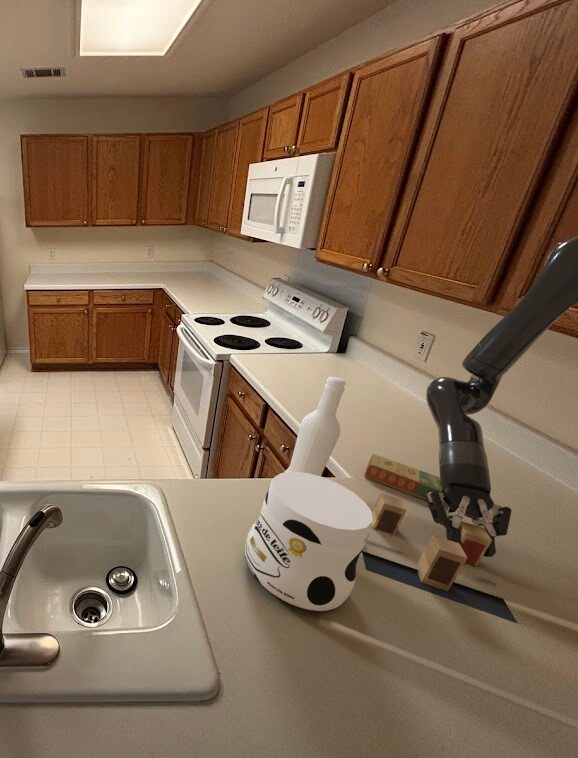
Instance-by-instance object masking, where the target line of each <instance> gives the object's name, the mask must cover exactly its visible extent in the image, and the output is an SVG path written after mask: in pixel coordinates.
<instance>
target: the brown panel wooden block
mask: <svg viewBox="0 0 578 758" xmlns="http://www.w3.org/2000/svg"><path fill="white" fill-rule="evenodd" d="M466 560H467V556H466V555H465V553H464V551H463V549H462V547H461V546H460V544H459V543H456V542H453V541H450V540H447V538H443V537H441V536H436V535H433V534H432V535H431V537H430V539H429V541H428V543H427V545H426V547H425V548H424V550H423V552H422V554H421V556H420V558H419V559H418V562H417V564H416V566H417V568H418V569H417V568H415V569H416V570H417V572H418V575H419V578H420V580H421V582H422V583H425V584H428V585H431V586H434V587H436V588H439V589H442V590H445V591H449V589H450V587H451V585H452V584H453V582H455V580H456V578H457V577H458V575H459V573H460V572H461V570H462V568H463V566H464V565H465V564H466V563H465V561H466Z"/></svg>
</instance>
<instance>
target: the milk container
mask: <svg viewBox="0 0 578 758" xmlns="http://www.w3.org/2000/svg"><path fill="white" fill-rule="evenodd" d="M284 472H285V471H284ZM284 472H281V473H280V472H279V474H277V475H275V476H274V477H273V478H272V479H271V482H270V483H269V486H268V489H267V492H266V494H265V497H264V499H263V502H262V506H261V509H260V514H259V516H258V517H257V519H256V520H255V522H254V523H253V525H252V526H251V528H250V529H249V531H248V532H247V535H246V539H245V545H244V557H245V562H246V565H247V568H248V569H249V571H250V573H251V574H252V576H253V578H254V579H255V580H256V581H257V582H258V584H260V585H261V587H263V588H264V589H265V590H266V591H267V592H268V593H270V594H271V595H273V596H274V597H275V598H277V599H279V600H281V601H282V602H284V603H286V604H288V605H291V606H293V607H296V608H299V609H302V610H304V611H310V612H311V611H312V612H327V611H329V610H330V611H331V610H333V609H336V608H339V607H340V606H341V605H342V604H343V603H344V602H346V600H347V599H348V598H349V596H350V595H351V593H352V591H353V589H354V586H355V583H356V578H357V577H356V576H357V563H358V560H359V558H360V556H361V554H362V551H364V548H365V546H366V544H367V540H368V538H369V536H370V535H371V531H372V528H373V526H372V523H373V518H372V510H371V508H370V507H369V505H368V504H367V502H366V501H364V500H363V499H362V498H361V497H360V496H359V495H358V494H356V493H355V492H353V491H352V490H351V489H348V488H347V487H345V486H343V485H342V484H340V483H338V482H335V481H333V480H332V479H331V480H330V479H328V478H327V477H324V476H321V477H320V476H317V475H313V474H309V473H303V472H293V471H292V472H285V473H284Z"/></svg>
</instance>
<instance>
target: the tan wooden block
mask: <svg viewBox="0 0 578 758" xmlns="http://www.w3.org/2000/svg"><path fill="white" fill-rule="evenodd" d="M407 510H408V509H407V507H406V505H405V503H404V500H403V499H402V498H398V497H395V496H392V495H388V494H385V493H382V492H380V493H379V494H378V497H377V498H376V501H375V504H374V506H373V509H372V510H371V512H372V518H373V523H372V528H373V529H375V530H378V531H381V532H385V533H388V534H389V535H390V534H391V535H396V534H397V531H398V529H399V527H400V525H401V523H402V521H403V519H404V516H405V514H406V513H407Z"/></svg>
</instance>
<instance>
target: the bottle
mask: <svg viewBox="0 0 578 758" xmlns="http://www.w3.org/2000/svg"><path fill="white" fill-rule="evenodd" d="M345 386H346V380H345V379H343V378H342V377H338V376H328V378H327V379H326V383H325V384H324V386H323V387H324V389H323V392H322V394H321V396H320V400H319V402H318V405H317V408H316V409H315V410H314V411H311V412H310V413H308V414H306V415H305V416H304V417H303V419H302V420H301V423H300V425H299V429H298V433H297V437H296V440H295V445H294V449H293V453H292V456H291V460H290V464H289V465H288V468H287V469H286V470H285V471H284V472H283V473H285V472H292V471H293V472H303V473H309V474H313V475H317V476H320V477H322V475H323V473H324V470H325V469H326V466H327V464H328V462H329V459H330V458H331V455H332V453H333V451H334V449H335V446H336V444H337V443H338V441H339V437H340V435H341V425H340V422H339V420H338V418H337V416H336V414H337V412H338V408H339V405H340V403H341V398H342V396H343V393H345Z"/></svg>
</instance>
